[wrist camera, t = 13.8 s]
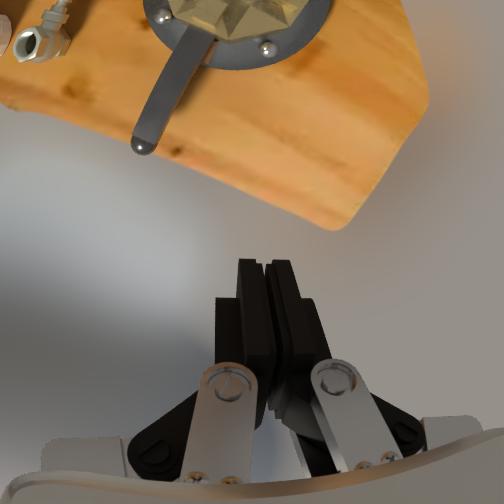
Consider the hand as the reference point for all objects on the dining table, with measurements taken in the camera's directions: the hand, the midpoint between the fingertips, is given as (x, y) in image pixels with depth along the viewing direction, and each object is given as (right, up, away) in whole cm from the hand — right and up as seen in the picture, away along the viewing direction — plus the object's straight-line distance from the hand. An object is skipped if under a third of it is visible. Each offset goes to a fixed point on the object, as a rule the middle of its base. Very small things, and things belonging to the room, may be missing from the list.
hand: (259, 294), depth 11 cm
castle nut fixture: (-5, +21, +13) cm, 25 cm away
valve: (-19, +27, +11) cm, 35 cm away
